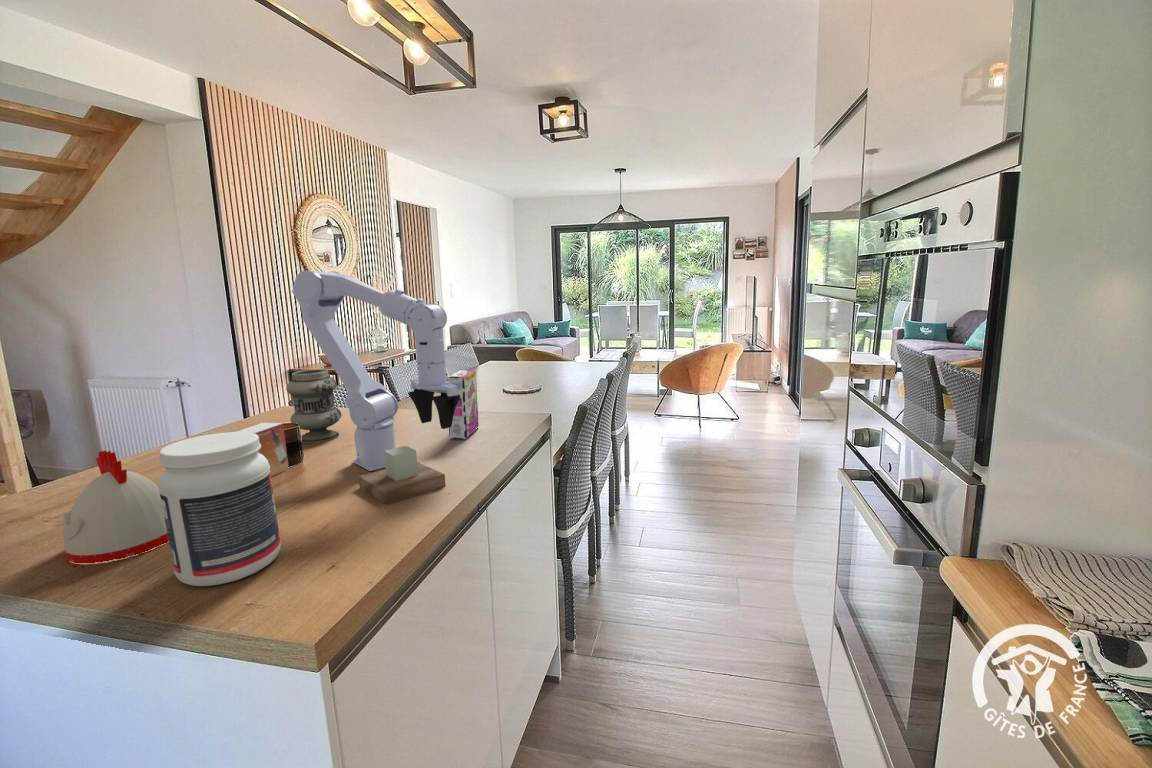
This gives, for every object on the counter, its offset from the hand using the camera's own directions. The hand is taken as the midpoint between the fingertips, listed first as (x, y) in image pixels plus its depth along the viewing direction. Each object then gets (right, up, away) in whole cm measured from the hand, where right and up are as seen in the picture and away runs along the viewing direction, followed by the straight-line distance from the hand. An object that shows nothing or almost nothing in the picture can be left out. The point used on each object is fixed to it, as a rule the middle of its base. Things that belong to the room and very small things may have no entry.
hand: (436, 424), depth 113 cm
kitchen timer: (-41, -17, -29) cm, 53 cm away
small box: (-37, -11, 0) cm, 38 cm away
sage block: (-4, -9, -10) cm, 14 cm away
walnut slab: (-4, -12, -9) cm, 16 cm away
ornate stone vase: (-38, -6, +27) cm, 47 cm away
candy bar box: (+1, -5, +27) cm, 27 cm away
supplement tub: (-19, -17, -37) cm, 46 cm away
